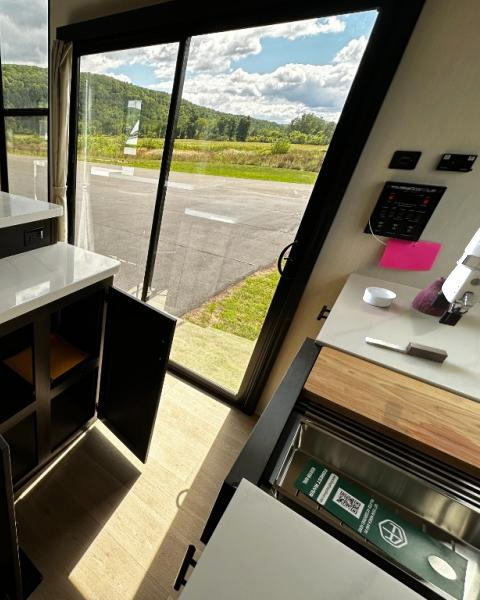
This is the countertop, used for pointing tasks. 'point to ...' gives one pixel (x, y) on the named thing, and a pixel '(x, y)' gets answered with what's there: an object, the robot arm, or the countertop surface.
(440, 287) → the vegetable
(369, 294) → the ramekin
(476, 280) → the robot arm
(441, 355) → the knife
